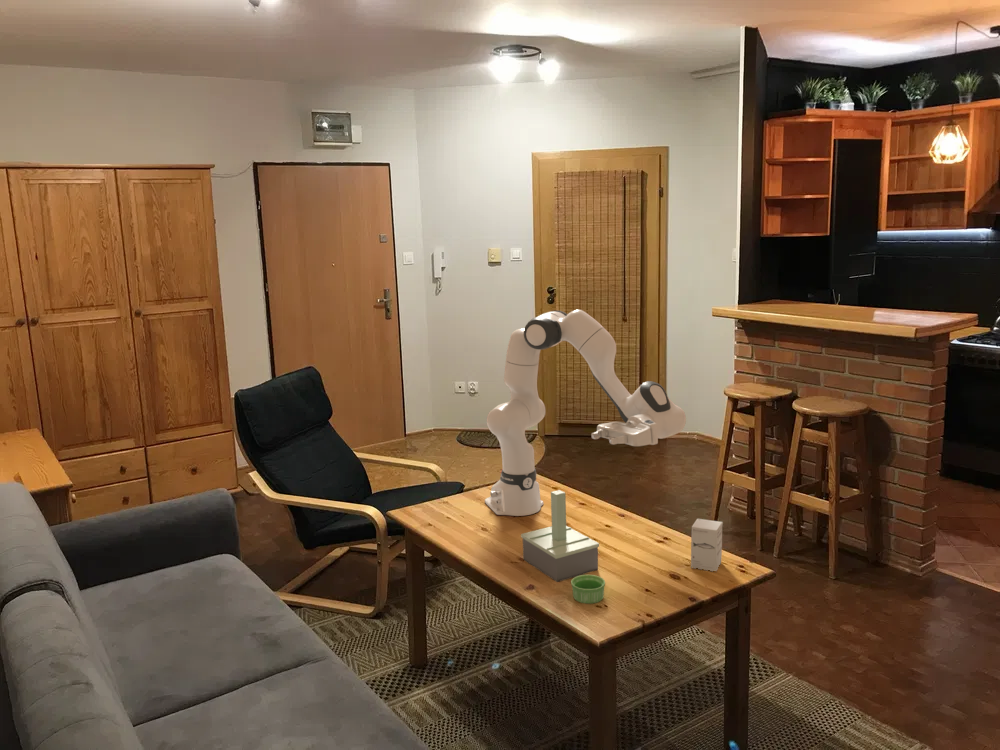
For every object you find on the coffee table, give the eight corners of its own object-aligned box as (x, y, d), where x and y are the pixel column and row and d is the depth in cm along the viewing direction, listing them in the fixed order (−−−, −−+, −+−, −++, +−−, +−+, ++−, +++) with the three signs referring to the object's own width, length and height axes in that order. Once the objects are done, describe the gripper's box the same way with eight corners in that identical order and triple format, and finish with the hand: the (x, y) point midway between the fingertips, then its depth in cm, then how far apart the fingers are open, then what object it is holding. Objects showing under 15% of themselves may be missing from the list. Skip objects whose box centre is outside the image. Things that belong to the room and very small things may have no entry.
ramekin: (592, 586, 216) (592, 571, 215) (612, 599, 208) (612, 584, 208) (564, 594, 212) (564, 579, 211) (583, 608, 204) (583, 592, 203)
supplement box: (690, 568, 225) (690, 526, 222) (696, 558, 231) (696, 517, 229) (716, 573, 221) (717, 530, 219) (722, 562, 228) (723, 521, 225)
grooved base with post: (521, 537, 234) (519, 488, 231) (562, 526, 241) (561, 479, 238) (556, 558, 218) (554, 506, 215) (599, 546, 225) (598, 496, 222)
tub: (523, 559, 235) (522, 537, 234) (562, 548, 242) (562, 527, 240) (556, 582, 220) (556, 558, 218) (598, 569, 226) (597, 546, 225)
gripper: (618, 414, 250) (581, 423, 244) (659, 424, 232) (620, 433, 226) (620, 434, 251) (583, 443, 245) (661, 444, 233) (622, 455, 227)
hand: (601, 438), depth 235 cm, fingers open, 8 cm apart
